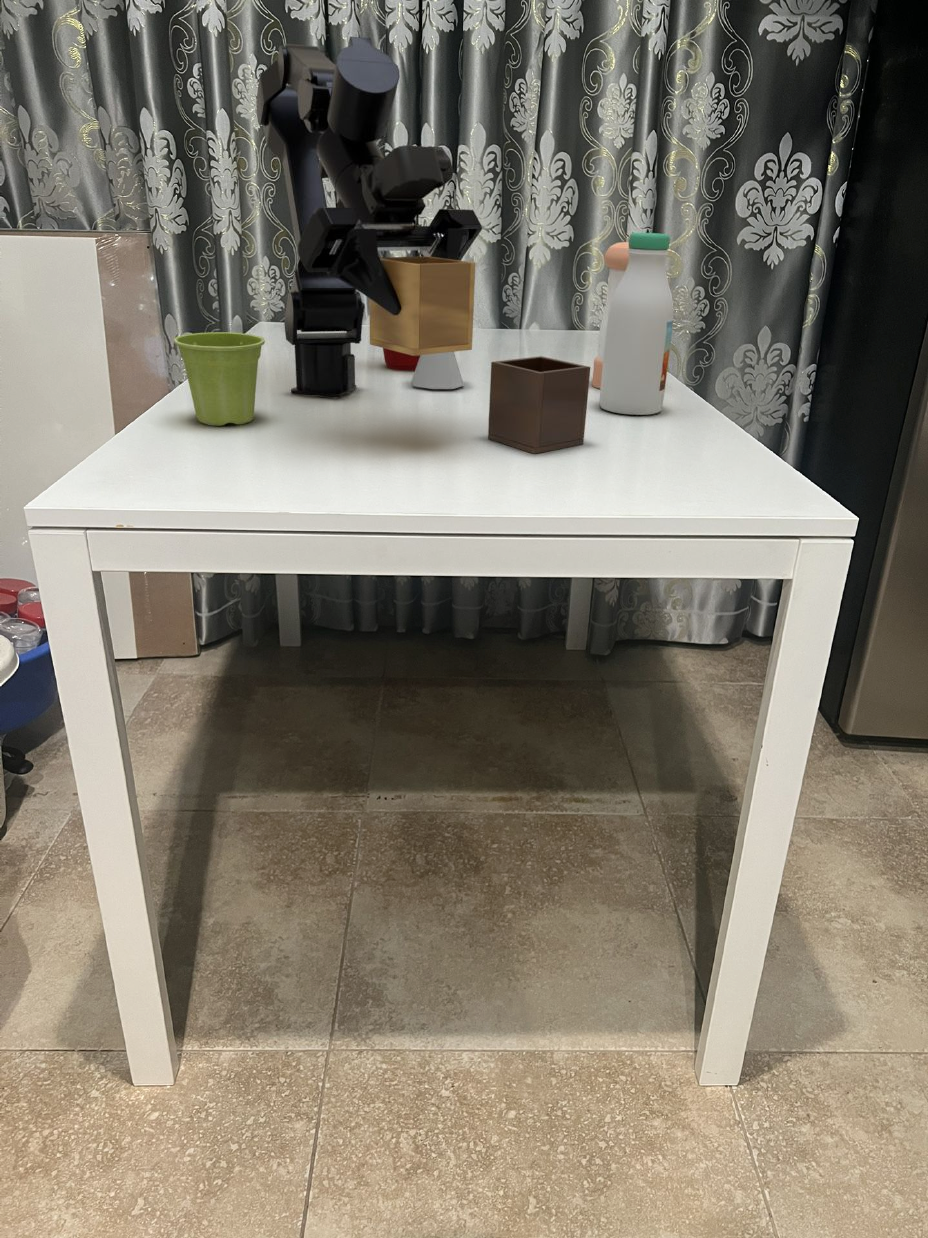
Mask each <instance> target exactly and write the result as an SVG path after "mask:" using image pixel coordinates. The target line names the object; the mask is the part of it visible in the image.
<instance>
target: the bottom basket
mask: <svg viewBox="0 0 928 1238" xmlns="http://www.w3.org/2000/svg"><path fill="white" fill-rule="evenodd" d="M590 376H591V366H588V365H584V364H579V363H573V362H569V361H565V360H561V359H556V358H552V357H547V356H543V355H539V356H532V357H530V356H529V357H521V358H514V359H513V358H511V359H503V360H495V361H491V363H490V380H489V381H490V382H489V383H490V384H489V403H488V405H489V407H488V425H487V440H491V441H494V442H497V443H500V444H503V445H506V446H509V447H512V448H514V449H518V450H521V451H524V452H527V453H531V454H533V455H536V454H540V453H546V452H551V451H557V450H561V449H565V448H571V447H576V446H581V445H584V441H585V439H584V438H585V433H586V432H585V430H586V419H587V411H588V410H587V408H588V398H589V387H590Z"/></svg>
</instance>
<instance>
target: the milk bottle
mask: <svg viewBox="0 0 928 1238" xmlns="http://www.w3.org/2000/svg"><path fill="white" fill-rule="evenodd" d="M628 237H629V245H628V246H629V250H628V253H629V262H628V265H627V268H626V271H625V273H624V276H623V278H622V280H621V282H620V284H619V285H618V287H617V289H616V291H615V293H614V296H613V298H612V301H611V305H610V309H609V315H608V322H607V330H606V340H605V349H604V359H603V369H602V379H601V389H600V388H599V389H600V391H599V405H600V408H601V409H603V410H604V411H608V412H611V413H616V414H623V415H633V416H634V415H636V416H639V415H640V416H644V415H653V414H658V413H659V412H661V410H662V409H663V405H664V397H665V390H666V383H667V375H668V368H669V361H670V360H669V359H670V352H671V351H670V350H671V344H672V334H673V324H674V299H673V294H672V291H671V287H670V284H669V281H668V280H669V279H668V275H667V270H666V257H667V256H668V255H669V248H670V244H671V236H670V235H669V234H666V233H655V232H631V233H630V234H629V236H628Z"/></svg>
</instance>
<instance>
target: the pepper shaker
mask: <svg viewBox="0 0 928 1238" xmlns="http://www.w3.org/2000/svg"><path fill="white" fill-rule="evenodd" d="M628 245H629V236H628V237H627V241H625V242H624V241H620V242H616V243H614V244H612V245H610V246H609V248H608V249H607V250H606V251H605V254H604V263H605V265H606V267H608V268H609V273H608V282H607V290H606V301H605V306H604V310H603V314H602V319H601V323H600V325H599V330H598V342H597V344H598V345H597V356H596V357H595V358H594V359H593V369H592V370H593V371H592V377H591V385H592V387H594V388H597V389H601V379H602V369H603V359H604V349H605V340H606V330H607V322H608V315H609V309H610V305H611V301H612V298H613V296H614V293H615V291H616V289H617V287H618V285H619V284H620V282H621V280H622V278H623V276H624V273H625V271H626V268H627V265H628V262H629V253H628V250H629V246H628Z"/></svg>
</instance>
